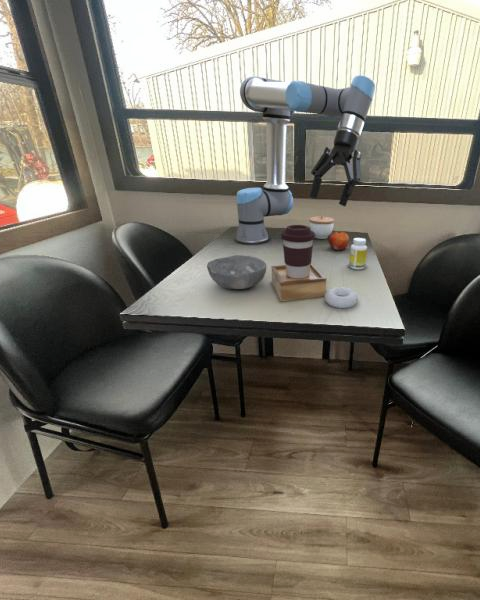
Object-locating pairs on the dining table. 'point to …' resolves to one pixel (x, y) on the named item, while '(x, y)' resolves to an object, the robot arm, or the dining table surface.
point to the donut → (341, 297)
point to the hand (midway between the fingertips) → (326, 201)
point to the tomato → (338, 240)
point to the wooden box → (298, 284)
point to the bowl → (237, 271)
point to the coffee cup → (297, 250)
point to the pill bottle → (358, 253)
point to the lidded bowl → (321, 226)
